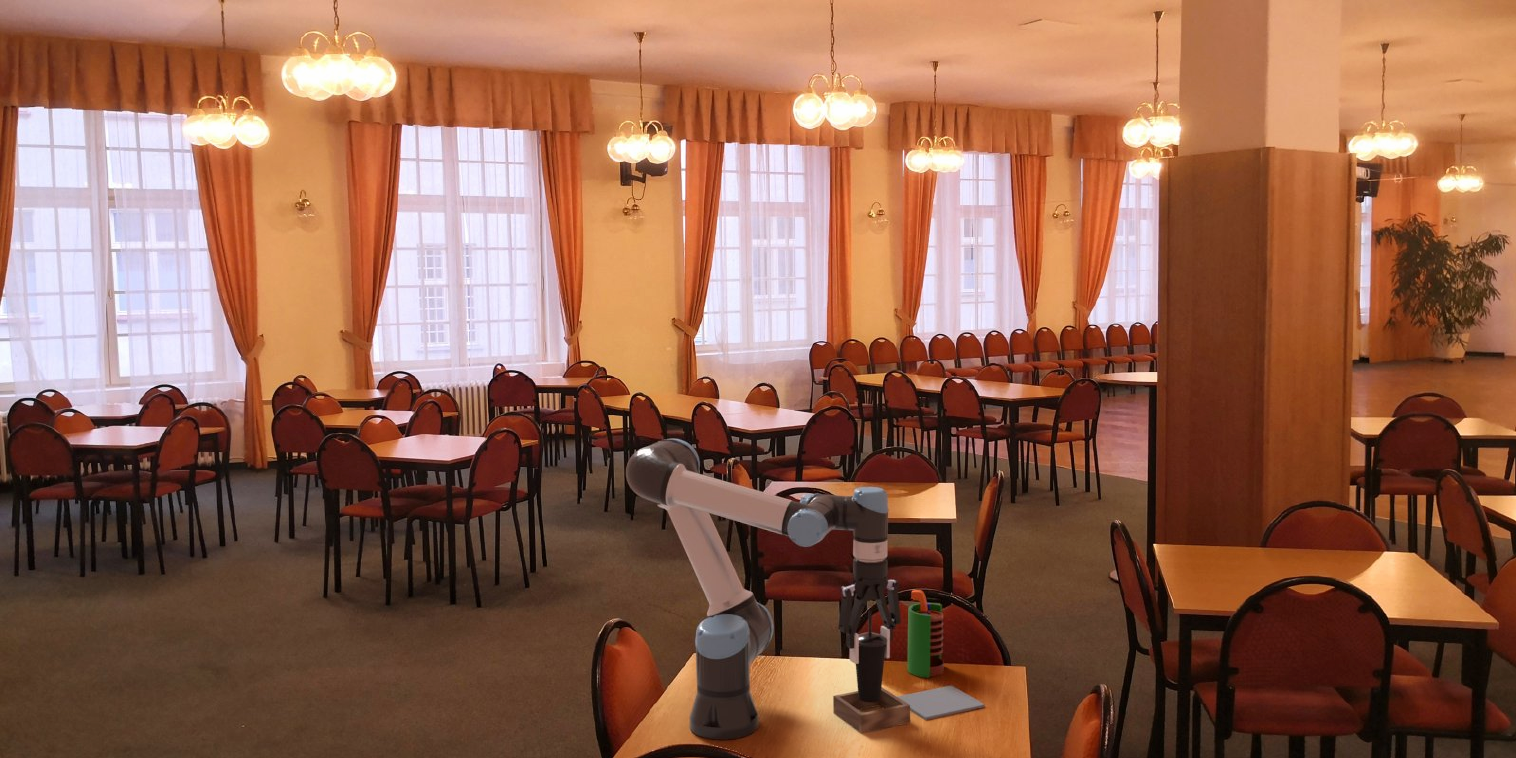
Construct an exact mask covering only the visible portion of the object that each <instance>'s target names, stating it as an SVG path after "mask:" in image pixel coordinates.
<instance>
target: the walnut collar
mask: <svg viewBox="0 0 1516 758" xmlns="http://www.w3.org/2000/svg"><path fill="white" fill-rule="evenodd" d="M832 697H833V699H832V700H833V707H832V708H833V710H832V711H833V714H834V715H836V716H837V717H838V718H840V720H842V721H844V722H845V723H847V724H848V725H849V726H850V727H852V728H854V730H856V731H858V732H859V733H860V734H864V733H870V732H874V731H879V730H883V729H888V728H893V727H897V726H901V725H905V724H906V725H907V724H910V723H911V710H910V705H909V704H907V703H906V702H904V701H903V700H901V699H900V698H898V696H896V695H895V694H893V693H891V692H890V691H889V690H887V689H886V688H884V687H881V696H880V700H879V701H877V702H863V701H861V700H859V697H858V690H856V691H855V690H854V691H852V692H851V691H850V692H846V693H842V694H841V693H840V694H837V695H832ZM873 707H881V708H882V709H876V710H871V711H867V712H862V711H861V710H864V709H869V708H873Z"/></svg>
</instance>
